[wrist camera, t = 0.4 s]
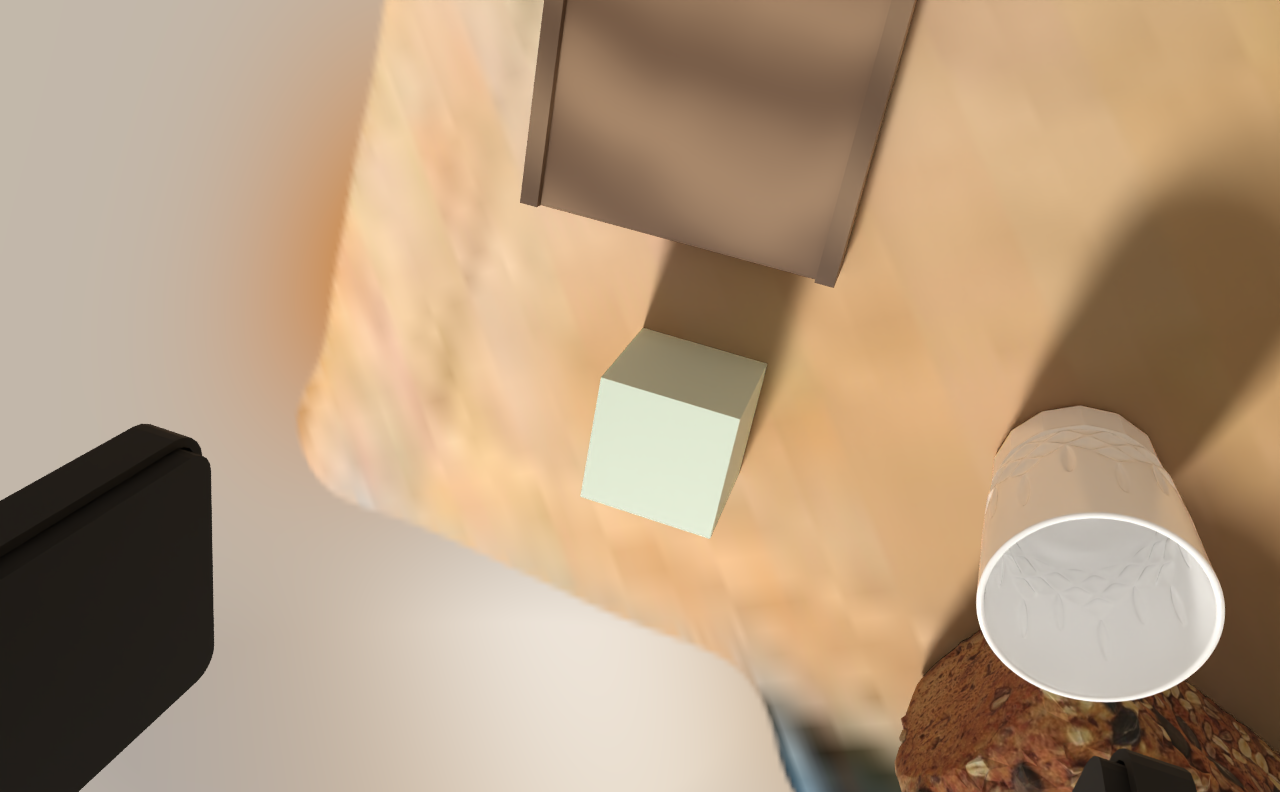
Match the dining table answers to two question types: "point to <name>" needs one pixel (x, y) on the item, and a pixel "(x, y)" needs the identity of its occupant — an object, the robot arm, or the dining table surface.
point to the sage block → (671, 430)
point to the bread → (1061, 733)
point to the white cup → (1093, 562)
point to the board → (715, 120)
